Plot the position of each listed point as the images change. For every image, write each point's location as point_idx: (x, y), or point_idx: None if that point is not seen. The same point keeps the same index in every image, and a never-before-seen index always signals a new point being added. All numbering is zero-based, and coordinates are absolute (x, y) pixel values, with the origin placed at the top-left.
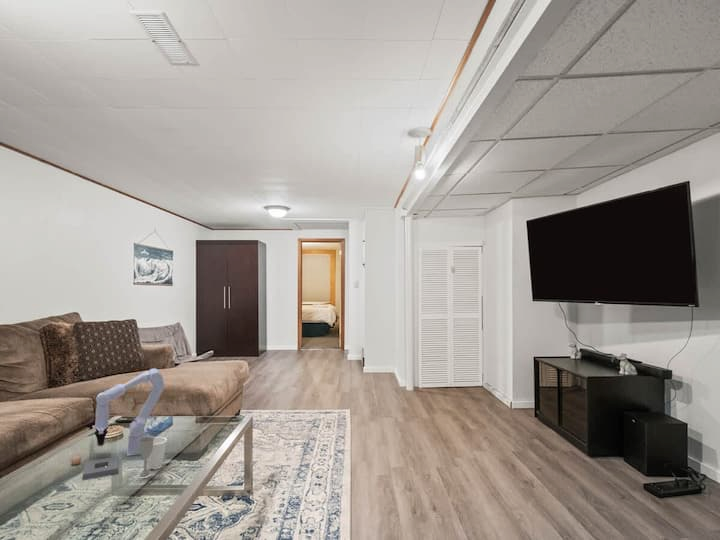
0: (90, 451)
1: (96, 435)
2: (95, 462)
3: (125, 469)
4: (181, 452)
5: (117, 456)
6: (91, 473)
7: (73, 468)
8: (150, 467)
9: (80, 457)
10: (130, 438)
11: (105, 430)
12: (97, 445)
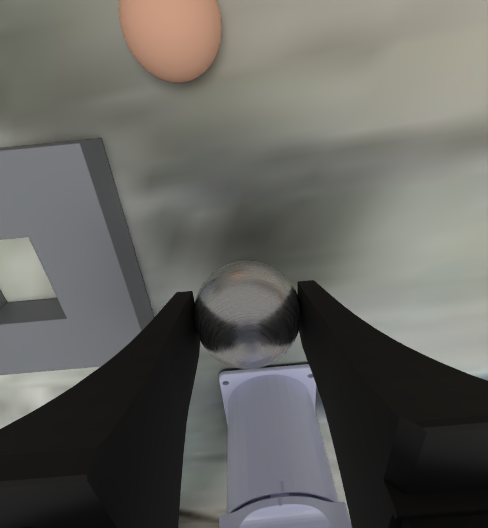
0: (439, 131)
1: (28, 427)
2: (53, 237)
3: (36, 377)
4: (194, 517)
5: None
6: None
7: (78, 27)
8: None
9: (174, 72)
10: (242, 497)
11: (345, 483)
12: (215, 271)
